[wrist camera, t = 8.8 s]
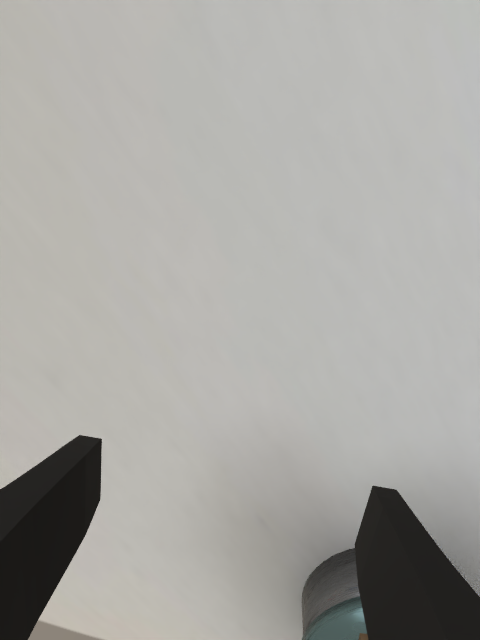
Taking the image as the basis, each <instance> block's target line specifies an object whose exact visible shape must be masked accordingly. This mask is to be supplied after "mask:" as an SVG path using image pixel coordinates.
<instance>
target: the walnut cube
mask: <svg viewBox="0 0 480 640" xmlns="http://www.w3.org/2000/svg"><path fill="white" fill-rule="evenodd" d="M358 640H368V635H367V634H364V633H360V635H359V639H358Z"/></svg>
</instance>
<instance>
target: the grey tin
mask: <svg viewBox="0 0 480 640" xmlns="http://www.w3.org/2000/svg"><path fill="white" fill-rule="evenodd" d="M302 618H303V638H302V640H358V639H359V635H360V633H364V634H367V630H366V625H365V620H364V615H363V609H362V604H361V599H360V594H359V588H358V580H357V568H356V554H355V548H354V549H349V550H347V551H344V552H341V553H339V554H336V555H334V556H332V557H330V558H329V559H327V560H326V561H324V562H323V563H322V564H320V565H319V566H318V567H317V568H316V569H315V570H314V571H313V572H312V573H311V575H310V576H309V578H308V579H307V581H306V584H305V586H304V589H303V593H302Z"/></svg>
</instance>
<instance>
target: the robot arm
mask: <svg viewBox="0 0 480 640" xmlns="http://www.w3.org/2000/svg"><path fill="white" fill-rule="evenodd" d="M101 446H102V439H99V438H93V437H88V436H82V435H79V436H77V437H76V438H75V439H73V440H72V441H70V442H69V443H67V444H66V445H64V446H63V447H62V448H60V449H59V450H57V451H56V452H55V453H53V454H52V455H50V456H49V457H48V458H46V459H45V460H43V461H42V462H41V463H39V464H38V465H36V466H35V467H33V468H32V469H30V470H29V471H27V472H26V473H25V474H23V475H22V476H20V477H19V478H17V479H16V480H14V481H13V482H11V483H10V484H8V485H7V486H5V487H4V488H2V489H0V640H28V638H29V636H30V634H31V632H32V630H33V628H34V626H35V625H36V623H37V621H38V619H39V617H40V615H41V614H42V612H43V610H44V608H45V606H46V605H47V603H48V601H49V599H50V598H51V596H52V594H53V592H54V590H55V589H56V587H57V585H58V583H59V582H60V580H61V578H62V576H63V575H64V573H65V571H66V569H67V567H68V566H69V564H70V562H71V560H72V558H73V557H74V555H75V553H76V551H77V549H78V548H79V546H80V544H81V542H82V540H83V539H84V537H85V535H86V532H87V530H88V528H89V525H90V523H91V521H92V518H93V516H94V513H95V511H96V508H97V506H98V504H99V501H100V491H101ZM355 554H356V568H357V580H358V588H359V594H360V599H361V604H362V609H363V615H364V620H365V625H366V630H367V635H368V640H480V597H479V596H478V595H477V593H476V592H475V591H474V590H473V589H472V588H471V586H470V585H469V584H468V583H467V582H466V581H465V579H464V578H463V577H462V576H461V575H460V573H459V572H458V571H457V570H456V569H455V567H454V566H453V565H452V564H451V562H450V561H449V560H448V559H447V557H446V556H445V555H444V553H443V552H442V551H441V550H440V548H439V547H438V546H437V544H436V543H435V542H434V540H433V539H432V538H431V536H430V535H429V534H428V532H427V531H426V530H425V528H424V527H423V526H422V524H421V523H420V522H419V520H418V519H417V517H416V516H415V515H414V513H413V512H412V511H411V509H410V508H409V506H408V505H407V504H406V502H405V501H404V499H403V498H402V497H401V495H400V494H399V493H398V491H397V490H394V489H389V488H383V487H377V486H372V490H371V493H370V496H369V499H368V503H367V506H366V509H365V513H364V516H363V519H362V523H361V526H360V529H359V532H358V536H357V539H356V542H355Z"/></svg>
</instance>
